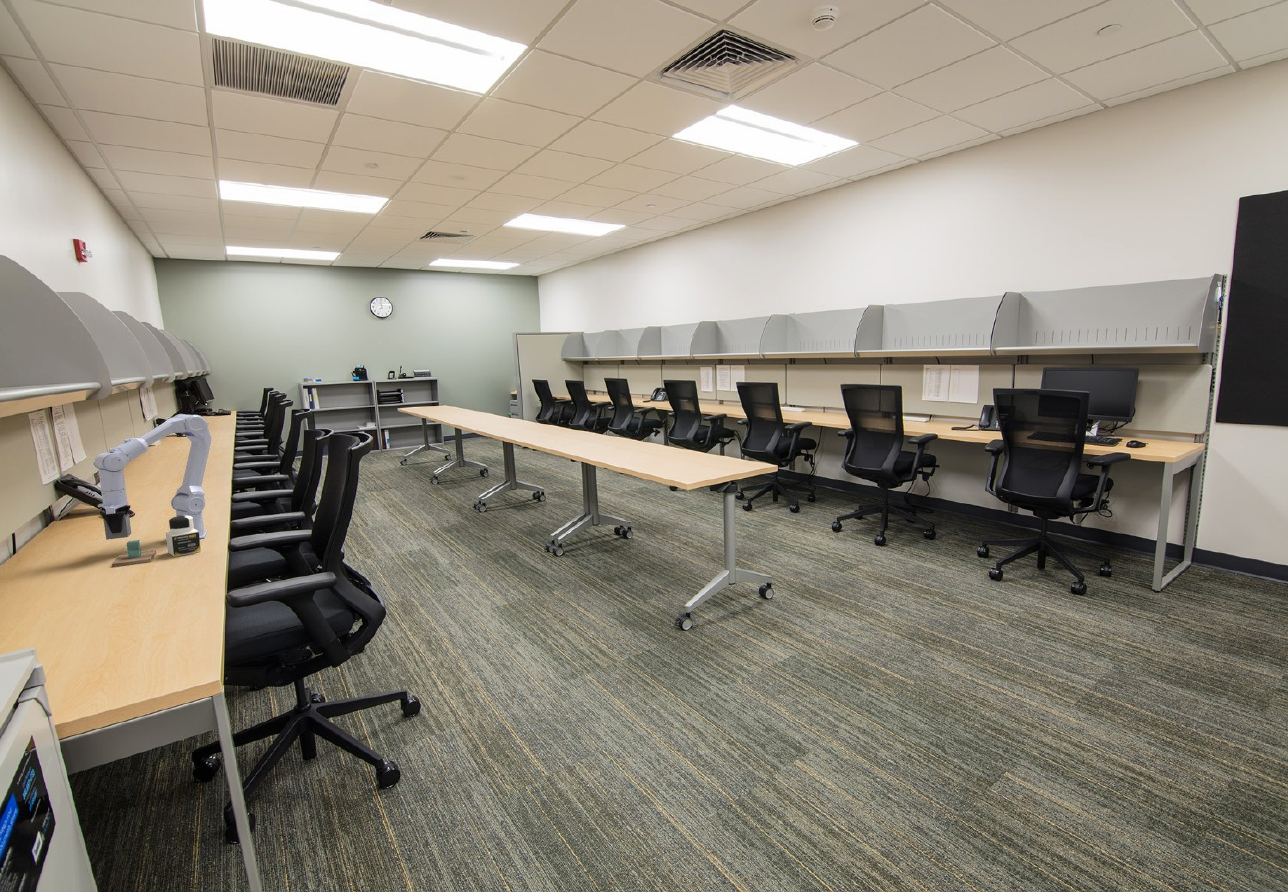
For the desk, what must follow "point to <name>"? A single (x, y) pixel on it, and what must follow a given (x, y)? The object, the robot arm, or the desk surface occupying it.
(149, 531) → the desk surface
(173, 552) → the medicine bottle
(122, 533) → the grey block
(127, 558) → the stand
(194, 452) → the robot arm
